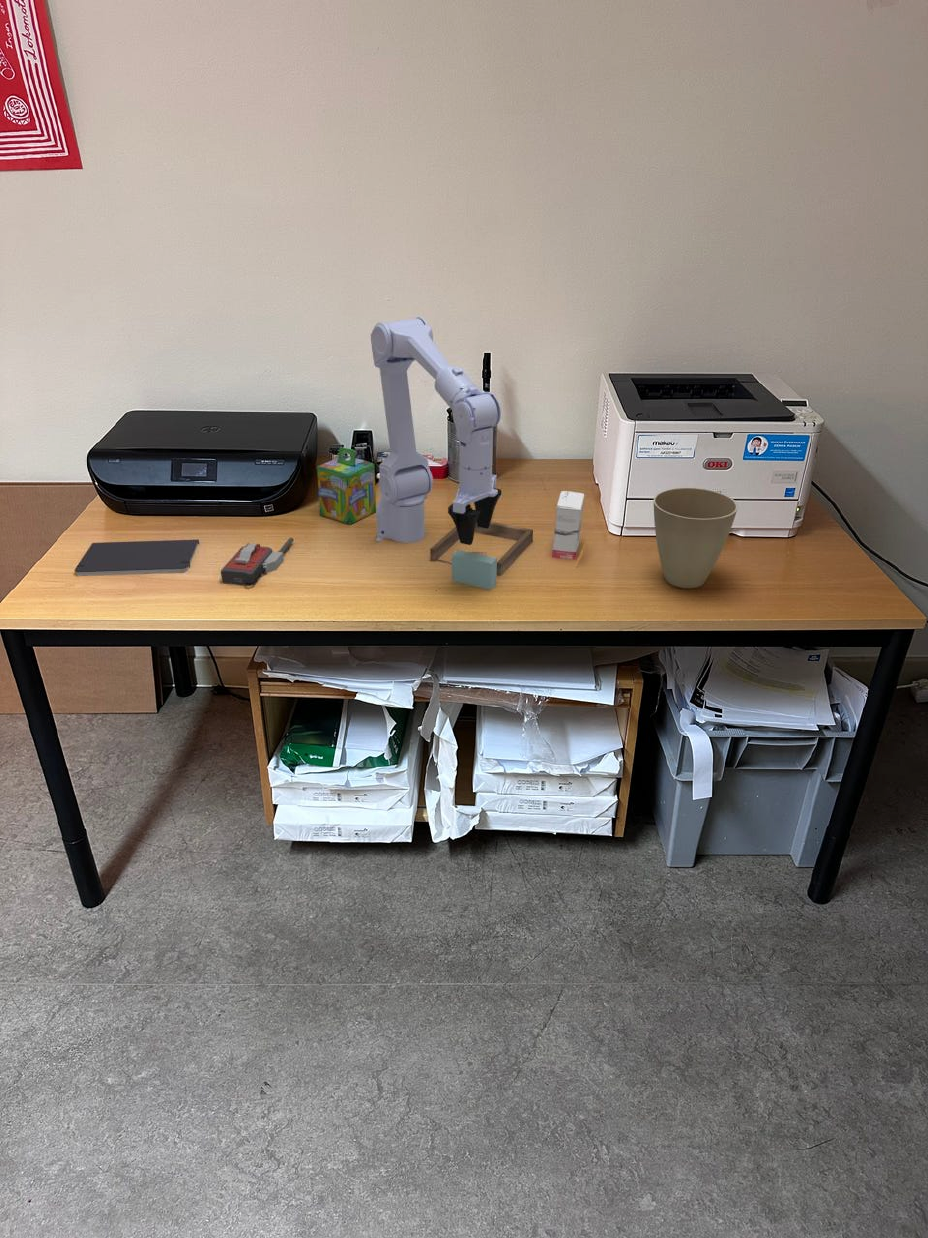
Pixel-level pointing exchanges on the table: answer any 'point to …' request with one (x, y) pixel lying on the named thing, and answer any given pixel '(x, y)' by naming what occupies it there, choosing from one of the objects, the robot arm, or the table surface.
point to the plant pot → (691, 532)
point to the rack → (495, 529)
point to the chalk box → (346, 488)
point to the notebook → (137, 557)
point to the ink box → (568, 525)
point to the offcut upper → (480, 553)
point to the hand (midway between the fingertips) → (474, 535)
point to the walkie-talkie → (252, 563)
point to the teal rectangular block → (474, 569)
